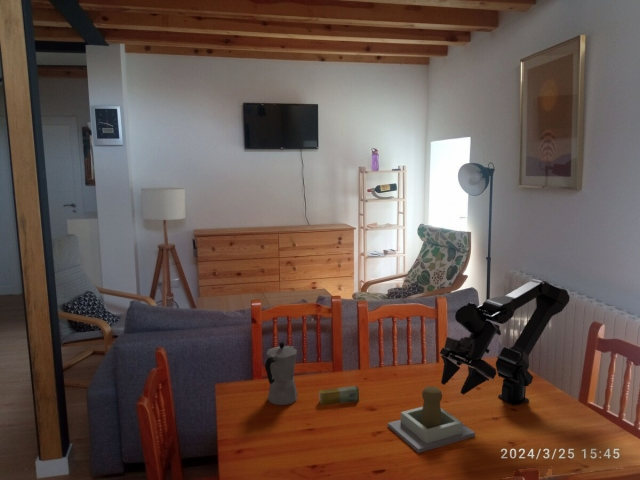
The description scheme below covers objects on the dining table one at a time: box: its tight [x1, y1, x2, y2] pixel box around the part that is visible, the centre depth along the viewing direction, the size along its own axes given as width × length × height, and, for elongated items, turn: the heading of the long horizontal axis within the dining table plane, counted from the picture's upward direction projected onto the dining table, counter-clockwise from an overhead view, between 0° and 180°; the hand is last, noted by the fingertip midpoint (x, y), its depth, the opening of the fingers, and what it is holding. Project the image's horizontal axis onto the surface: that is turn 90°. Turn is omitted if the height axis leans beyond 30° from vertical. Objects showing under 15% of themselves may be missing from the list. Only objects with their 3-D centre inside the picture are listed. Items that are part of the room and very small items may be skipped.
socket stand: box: [387, 406, 476, 454], centre depth 131 cm, size 18×14×4 cm
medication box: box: [318, 385, 360, 406], centre depth 148 cm, size 12×3×4 cm, turn 104°
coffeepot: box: [264, 341, 298, 406], centre depth 148 cm, size 15×9×18 cm, turn 153°
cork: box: [420, 385, 443, 429], centre depth 130 cm, size 6×6×11 cm
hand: (451, 388), depth 135 cm, fingers open, 9 cm apart
